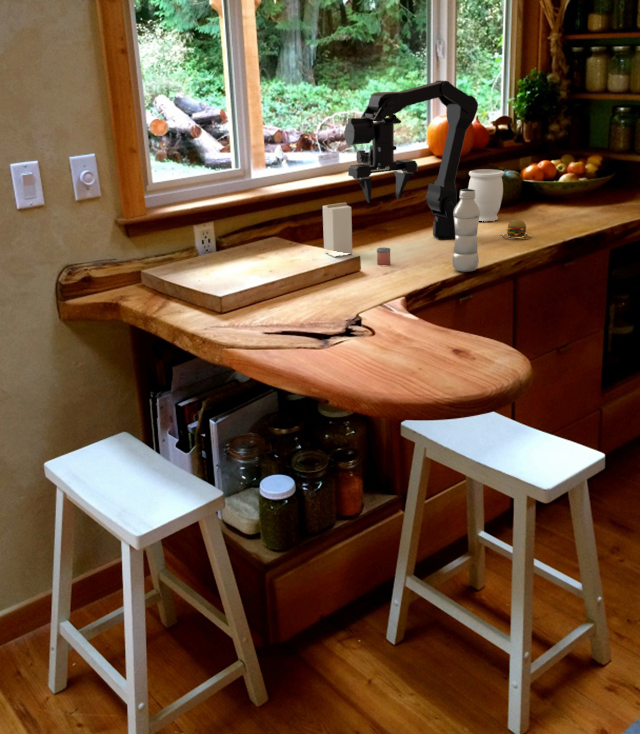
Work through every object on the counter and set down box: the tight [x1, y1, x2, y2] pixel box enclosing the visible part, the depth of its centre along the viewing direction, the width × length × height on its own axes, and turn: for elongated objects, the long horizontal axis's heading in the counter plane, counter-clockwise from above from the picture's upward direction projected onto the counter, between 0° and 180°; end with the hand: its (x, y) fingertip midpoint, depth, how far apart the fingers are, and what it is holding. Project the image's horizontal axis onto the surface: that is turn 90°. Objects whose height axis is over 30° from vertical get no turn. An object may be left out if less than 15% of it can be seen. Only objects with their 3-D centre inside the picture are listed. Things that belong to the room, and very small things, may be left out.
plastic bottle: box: [451, 188, 480, 273], centre depth 200 cm, size 6×7×20 cm
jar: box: [467, 168, 505, 223], centre depth 255 cm, size 11×10×15 cm
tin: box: [376, 247, 391, 266], centre depth 212 cm, size 4×4×4 cm
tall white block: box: [322, 202, 353, 255], centre depth 222 cm, size 6×6×14 cm
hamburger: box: [500, 219, 528, 238], centre depth 234 cm, size 12×12×6 cm
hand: (383, 200), depth 225 cm, fingers open, 9 cm apart
